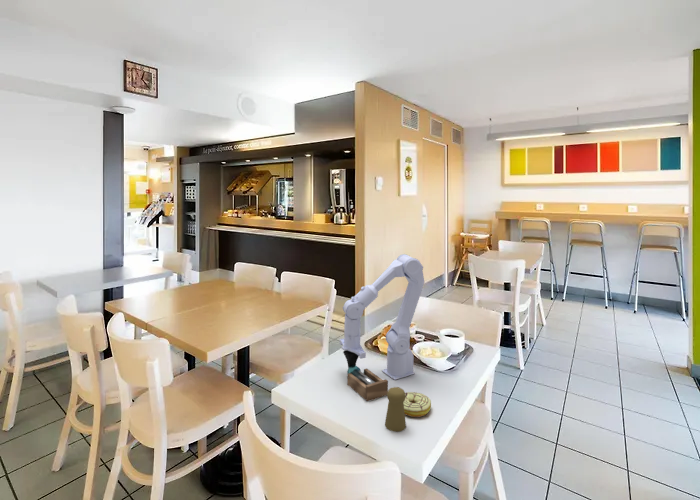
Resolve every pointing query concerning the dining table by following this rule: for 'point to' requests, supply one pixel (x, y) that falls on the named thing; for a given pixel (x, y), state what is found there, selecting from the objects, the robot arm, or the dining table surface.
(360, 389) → the housing
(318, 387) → the dining table surface
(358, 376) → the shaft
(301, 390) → the dining table surface
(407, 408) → the decorated donut
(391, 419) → the olive brown pawn
